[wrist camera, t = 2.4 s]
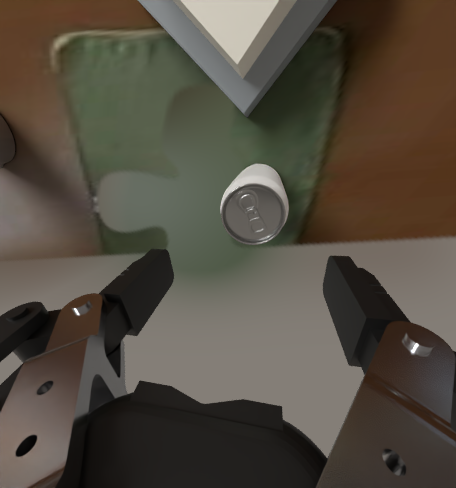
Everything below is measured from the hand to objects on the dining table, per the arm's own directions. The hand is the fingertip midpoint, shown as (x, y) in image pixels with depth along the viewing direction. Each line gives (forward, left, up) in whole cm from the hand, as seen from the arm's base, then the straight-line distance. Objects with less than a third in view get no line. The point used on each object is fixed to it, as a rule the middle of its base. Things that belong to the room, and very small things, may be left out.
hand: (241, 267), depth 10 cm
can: (0, 0, -20) cm, 20 cm away
